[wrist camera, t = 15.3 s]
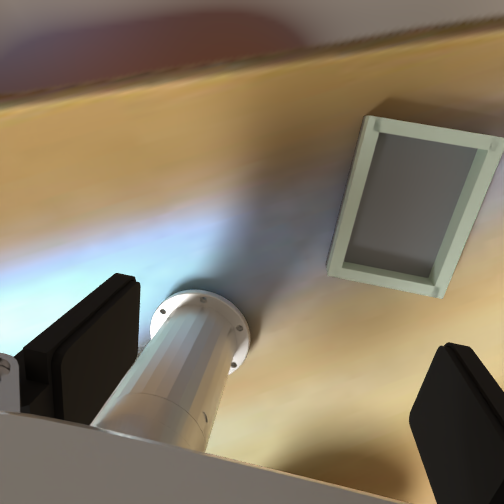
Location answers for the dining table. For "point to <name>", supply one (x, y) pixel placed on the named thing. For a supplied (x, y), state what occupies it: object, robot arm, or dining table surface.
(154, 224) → the dining table surface
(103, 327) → the robot arm
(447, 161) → the serving tray
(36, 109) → the dining table surface
